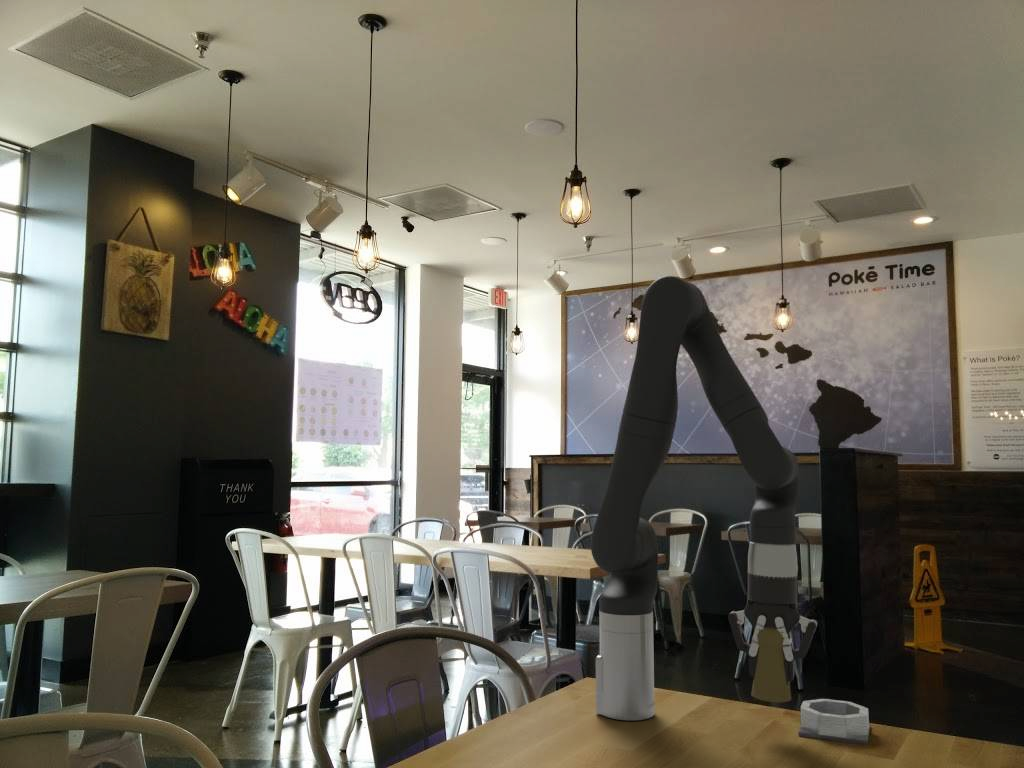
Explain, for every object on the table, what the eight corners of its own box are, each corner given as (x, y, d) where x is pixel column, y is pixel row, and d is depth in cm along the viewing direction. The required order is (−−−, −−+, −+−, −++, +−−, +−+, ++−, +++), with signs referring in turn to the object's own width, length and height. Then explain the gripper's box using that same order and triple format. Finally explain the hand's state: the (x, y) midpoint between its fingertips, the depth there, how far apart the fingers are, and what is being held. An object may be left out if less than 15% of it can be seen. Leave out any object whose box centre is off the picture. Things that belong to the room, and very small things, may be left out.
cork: (793, 703, 129) (794, 630, 130) (752, 700, 131) (753, 627, 131) (788, 692, 135) (789, 622, 136) (749, 689, 136) (750, 620, 137)
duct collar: (798, 736, 133) (798, 712, 134) (805, 718, 142) (804, 696, 143) (867, 745, 129) (866, 720, 129) (870, 726, 138) (869, 703, 138)
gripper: (722, 570, 134) (721, 681, 133) (817, 578, 128) (817, 694, 127) (730, 564, 141) (729, 670, 139) (821, 572, 135) (821, 682, 134)
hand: (771, 681), depth 133 cm, fingers closed on cork, 4 cm apart
